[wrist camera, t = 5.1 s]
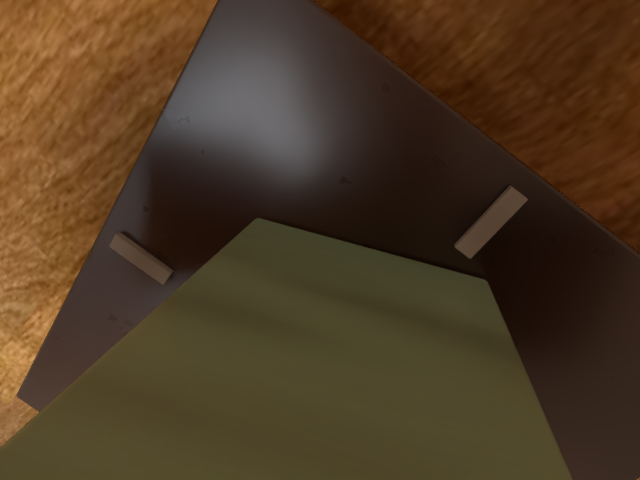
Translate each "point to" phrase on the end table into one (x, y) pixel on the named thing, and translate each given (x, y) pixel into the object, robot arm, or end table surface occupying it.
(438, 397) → the box
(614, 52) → the end table surface
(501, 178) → the plate
